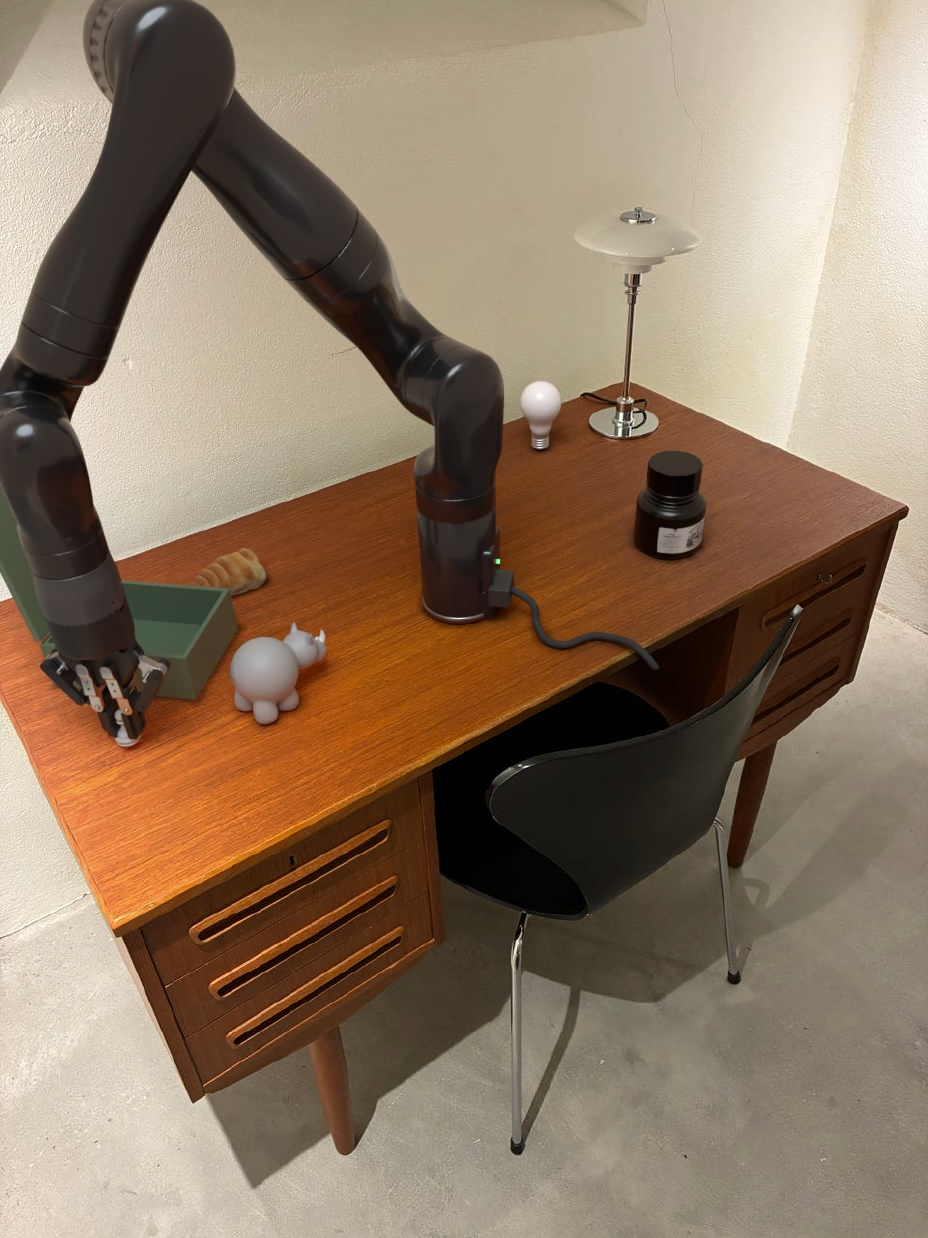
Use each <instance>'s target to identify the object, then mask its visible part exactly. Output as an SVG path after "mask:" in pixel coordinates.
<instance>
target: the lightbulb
mask: <svg viewBox="0 0 928 1238" xmlns="http://www.w3.org/2000/svg"><path fill="white" fill-rule="evenodd" d="M562 403H563V399H562V395H561V392H560V390H559V388H557V386H555V385H554V384H553V383H551V382H549V381H547V380H546V381H545V380H536V381H533V382H531V383H530V384H528V385H527V386H525V388H524V389H523V390H522V392H521V394H520V399H519V407H520V410H521V413H522V415H523V416H524V418H525V419H526V421H527V422H528V425H529V429H530V431H531V447H532V448H533V449H535V450H537V451H542V450H545V449H547V448H549V446H550V443H549V442H550V431H551V429H552V425H553V423H554V421H555V419H556V418H557V417H558V415H559V413H560V411H561V409H562Z"/></svg>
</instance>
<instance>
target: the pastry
mask: <svg viewBox="0 0 928 1238" xmlns="http://www.w3.org/2000/svg"><path fill="white" fill-rule="evenodd" d="M266 579H267V574H266V570H265V569H264V567H263V565H262V564H261V562H260V561H259V558H258V556H257V555H256V554H255V552H254V551H253V550H252V549H251V548H245V547H242V548H240V549H239V550H238V551H235V552H232V553H228V554H225V555H220V556H218V557H216V558H215V559H214V561H213V562H211V563H210V564H209V565H208V566H207V567H204V568H202V569H201V570H200V571H199V572H198V573H196V574H195V576H194V577H192V578H191V580H190V584H189V586H201V587H214V588H227V589H230V593H231V597H234V596H238V595H242V594H244V593H247V592H248V591H250V590H256V589H258V588H260V587H261V586H262V585H263V584H264V583H265V581H266Z"/></svg>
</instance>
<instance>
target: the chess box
mask: <svg viewBox="0 0 928 1238" xmlns="http://www.w3.org/2000/svg"><path fill="white" fill-rule="evenodd" d="M121 581H122V584H123V587H124V591H125V594H126V597H127V601H128V604H129V608H130V611H131V614H132V618H133V621H134V625H135V639H136V641H137V642H138V644H139V645H140V646H141V647H142V648H143V650H144V656H146V657H148V658H150V659H152V660H154V661H156V662H158V661H159V660H160V659H167V660H168V661H169V662H170V664H171V665H170V668H169V670H168V672H167V674H166V676H165V678H164V680H163V683H162V685H161V687H160V689H159V691H158V693H157V695H156V697H159V698H162V697H163V698H171V699H182V700H189V701H190V700H191V701H196V700H197V699H198V698H199V696H200V694H201V693H202V691H203V689H204V687H205V685H206V684H207V683H208V681H209V679H210V677H211V675H212V674H213V672H214V671H215V670H216V667H217V666H218V664H219V662H220V660H221V658H222V657H223V655H224V654H225V652H226V650H227V648H228V647H229V645H230V643H231V641H233V638H234V636H235V634H236V633H237V631H238V630H239V626H238V622H237V617H236V613H235V607H234V602H233V598H232V596H231V593H230V589H227V588H214V587H201V586H190V584H189V585H188V584H177V583H175V584H174V583H161V582H152V581H151V582H149V581H139V580H138V581H137V580H125V579H124V580H123V579H121ZM39 648H40V650H41V653H42V656H43V658H44V659H43V660H45V658H46V657H47V656H48V655H49V653H50V652H51V651H52V650H53V649H55V648H56V647H55V645H54V642H53V639H52V637H51V634H50V632H49V633H48V634H47V635H46V636H45V638H44V639H43V640H42V641H41V642H40V644H39ZM136 672H137V674H138V686H139V689H140V691H141V692H142V690H143V688H144V686H145V683H144V682H143V681H142V679H143V677H142V671H141V669H140V668H139V667H138V668H137V670H136ZM53 685H54V687H58V686H57V685H56V684H55V683H54V682H53ZM73 685H74V686H75V687H76V688H77V689H78V690H80V689H81V687H80V686H79V685H78V684H77V683H76V682H75V681H74V682H73Z"/></svg>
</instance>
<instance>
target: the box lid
mask: <svg viewBox="0 0 928 1238" xmlns="http://www.w3.org/2000/svg"><path fill="white" fill-rule="evenodd" d="M0 575H1V577H2V579H3V581H4V583H5V585H6V588H7V590H8V591H9V593H10V595H11V597H12V599H13V601H14V603H15V605H16V607H17V609H18V611H19V613H20V615H21V617H22V618H23V621H24V623H25V626H26V627H27V628H28V631H29V633H30V634H31V636H32V639H33V641H34V642H35V643H42V642H43V641H44V639H45V638H46V637H47V636H48V635H49V633H50V631H49V628H48V626H47V623H46V620H45V618H44V615H43V612H42V609H41V607H40V604H39V601H38V598H37V595H36V592H35V589H34V584H33V578H32V573H31V570H30V568H29V565H28V562H27V559H26V556H25V554H24V551H23V548H22V545H21V542H20V539H19V536H18V532H17V527H16V519H15V517H14V515H13V512H12V510H11V508H10V506H9V504H8V501H7V499H6V497H5V494H4V492H3V489H2V487H1V485H0Z"/></svg>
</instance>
